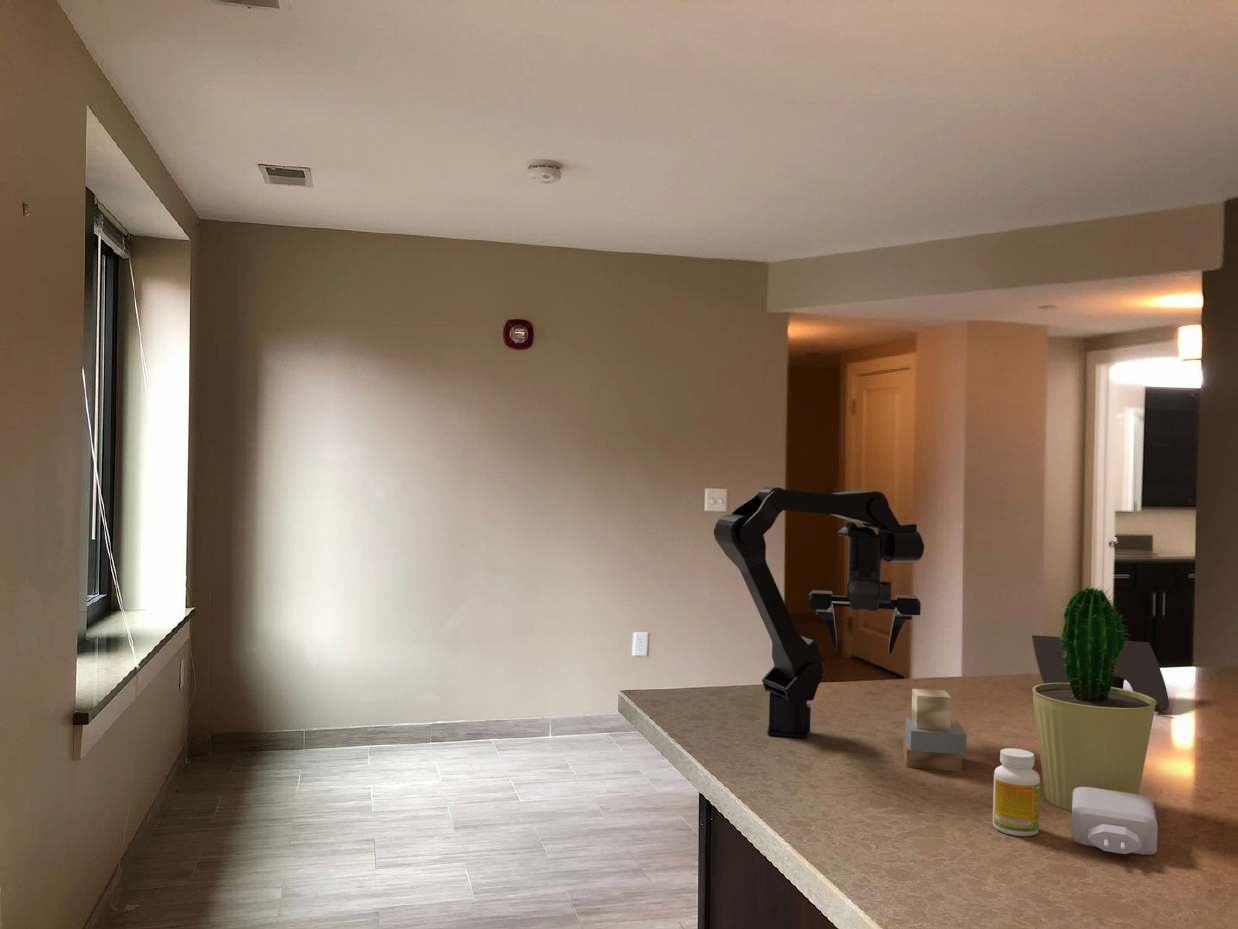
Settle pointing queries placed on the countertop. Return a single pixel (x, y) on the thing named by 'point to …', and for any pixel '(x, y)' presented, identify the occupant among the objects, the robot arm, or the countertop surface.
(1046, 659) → the portable electronic device stand
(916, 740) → the slate block
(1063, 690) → the potted cactus
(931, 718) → the birch cube
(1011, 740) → the countertop surface
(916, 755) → the walnut block
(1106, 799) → the charger
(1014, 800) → the supplement bottle
